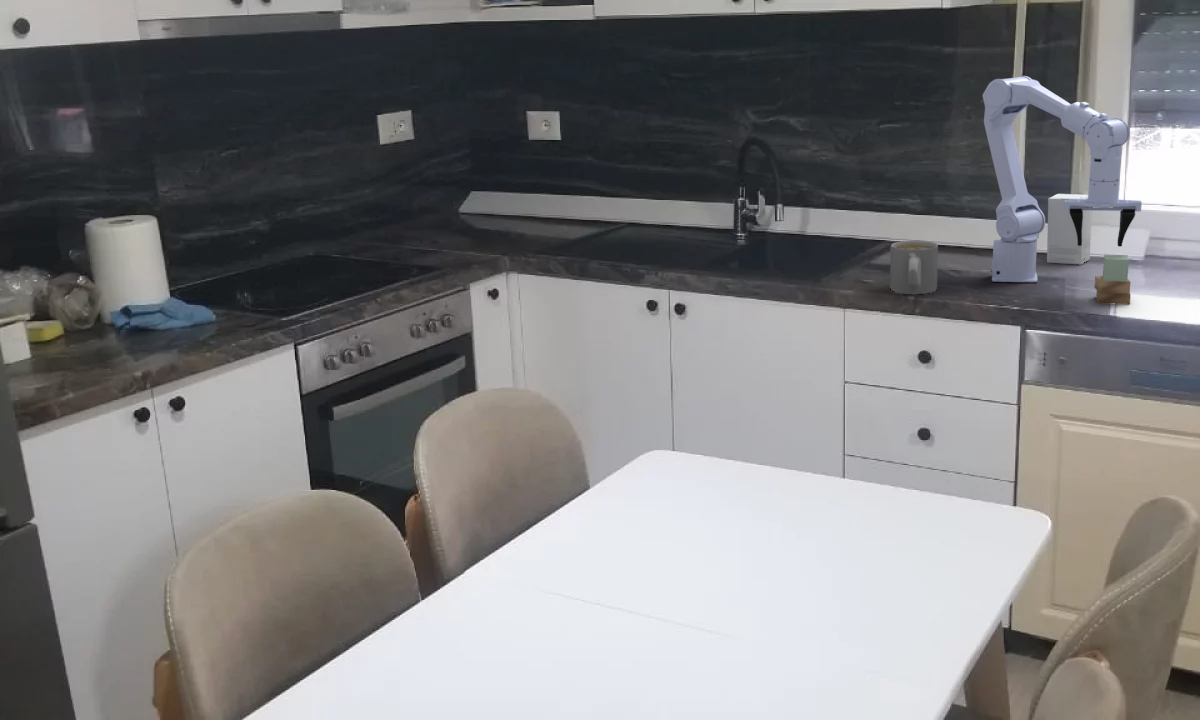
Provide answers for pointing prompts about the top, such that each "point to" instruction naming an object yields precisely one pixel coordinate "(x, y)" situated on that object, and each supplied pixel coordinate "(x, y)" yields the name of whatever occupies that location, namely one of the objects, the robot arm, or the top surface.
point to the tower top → (1111, 286)
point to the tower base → (1113, 298)
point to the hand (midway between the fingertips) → (1099, 245)
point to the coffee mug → (913, 267)
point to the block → (1115, 268)
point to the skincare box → (1067, 232)
